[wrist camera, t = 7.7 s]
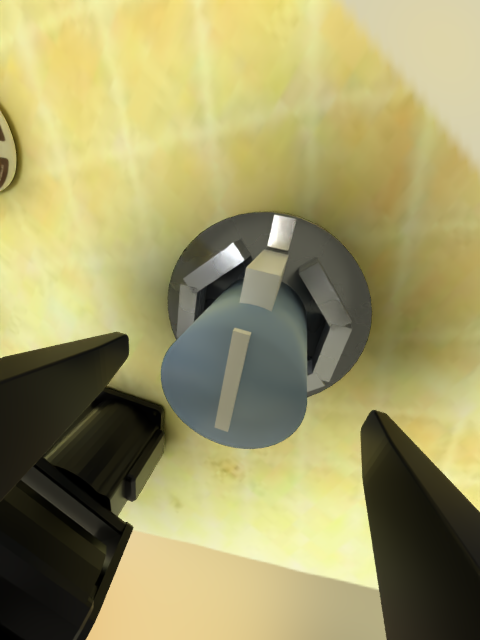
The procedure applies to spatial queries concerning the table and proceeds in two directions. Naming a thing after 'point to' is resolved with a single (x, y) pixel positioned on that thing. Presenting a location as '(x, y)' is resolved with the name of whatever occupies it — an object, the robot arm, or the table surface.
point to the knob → (243, 361)
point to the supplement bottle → (6, 154)
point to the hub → (300, 274)
